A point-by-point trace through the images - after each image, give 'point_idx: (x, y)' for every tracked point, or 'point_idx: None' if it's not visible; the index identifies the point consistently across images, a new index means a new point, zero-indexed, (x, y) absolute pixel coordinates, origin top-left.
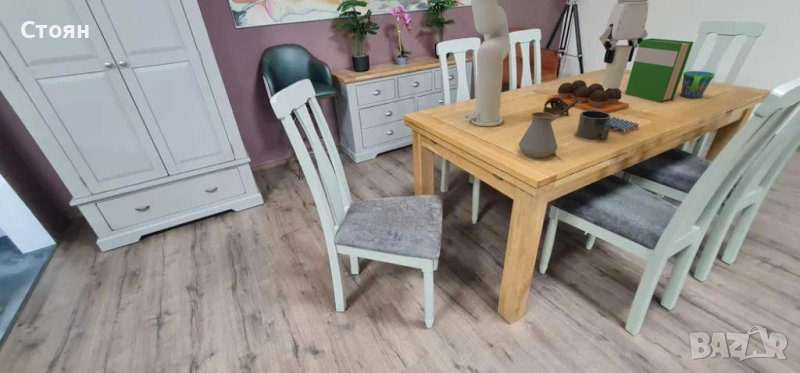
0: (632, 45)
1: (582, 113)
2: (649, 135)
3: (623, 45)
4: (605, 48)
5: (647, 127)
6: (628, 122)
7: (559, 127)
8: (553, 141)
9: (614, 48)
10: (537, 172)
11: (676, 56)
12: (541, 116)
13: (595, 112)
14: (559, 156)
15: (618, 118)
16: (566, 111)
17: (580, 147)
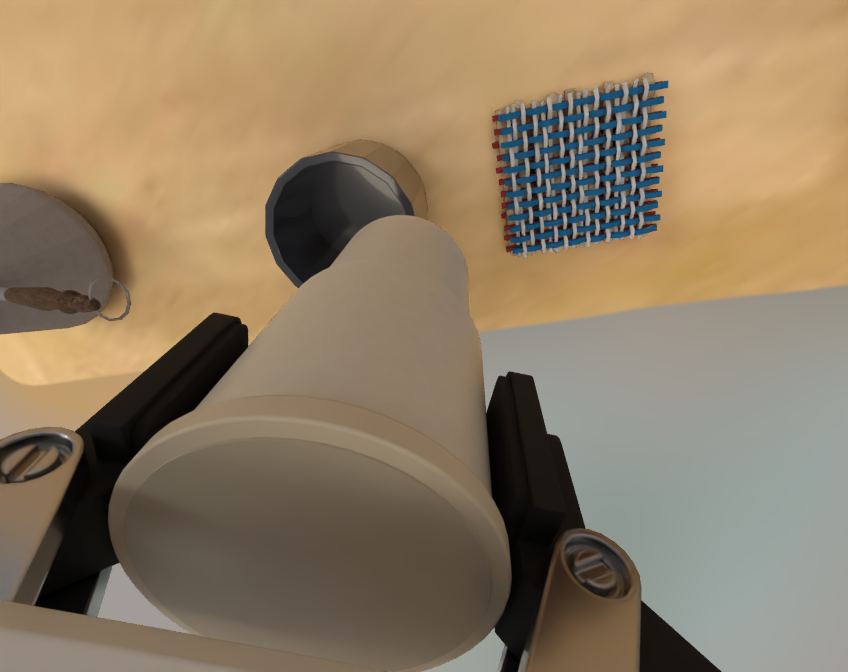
0: (515, 645)
1: (297, 174)
2: (596, 308)
3: (419, 560)
4: (20, 453)
5: (699, 237)
6: (629, 199)
7: (313, 6)
8: (51, 327)
9: (139, 562)
10: (27, 357)
11: None
12: None
13: (389, 186)
14: (138, 303)
15: (658, 118)
16: None
17: (253, 276)
